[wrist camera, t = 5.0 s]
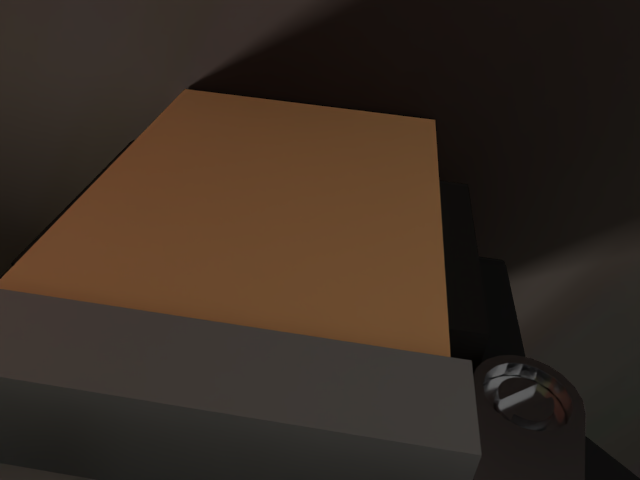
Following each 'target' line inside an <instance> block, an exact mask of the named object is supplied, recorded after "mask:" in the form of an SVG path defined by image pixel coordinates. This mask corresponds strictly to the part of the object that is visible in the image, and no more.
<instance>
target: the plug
mask: <svg viewBox="0 0 640 480" xmlns="http://www.w3.org/2000/svg"><path fill="white" fill-rule="evenodd" d="M481 456H482V454H481V444H480V435H479V425H478V416H477V406H476V397H475V387H474V378H473V369H472V360H465V359H459V358H452V357H451V356H450V340H449V325H448V309H447V294H446V278H445V263H444V248H443V232H442V217H441V201H440V186H439V171H438V155H437V140H436V124H435V120H432V119H424V118H416V117H408V116H400V115H392V114H384V113H375V112H367V111H359V110H351V109H343V108H335V107H327V106H319V105H311V104H303V103H294V102H286V101H278V100H270V99H262V98H254V97H246V96H238V95H230V94H222V93H213V92H205V91H197V90H189V89H185V90H184V91H183V92H182V93H181V94H180V95H179V96H178V97H177V98H176V99H175V100H174V101H173V102H172V103H171V104H170V105H169V106H168V107H167V108H166V109H165V110H164V111H163V112H162V113H161V114H160V115H159V116H158V117H157V118H156V119H155V120H154V121H153V122H152V124H151V125H150V126H149V127H148V128H147V129H146V130H145V131H144V132H143V133H142V134H141V135H140V136H139V137H138V138H137V139H136V140H135V141H134V142H133V143H132V144H131V145H130V146H129V147H128V148H127V149H126V150H125V151H124V152H123V153H122V154H121V155H120V156H119V157H118V159H117V160H116V161H115V162H114V163H113V164H112V165H111V166H110V167H109V168H108V169H107V170H106V171H105V172H104V173H103V174H102V175H101V176H100V177H99V178H98V179H97V180H96V181H95V182H94V183H93V184H92V185H91V186H90V187H89V188H88V189H87V190H86V191H85V192H84V194H83V195H82V196H81V197H80V198H79V199H78V200H77V201H76V202H75V203H74V204H73V205H72V206H71V207H70V208H69V209H68V210H67V211H66V212H65V213H64V214H63V215H62V216H61V217H60V218H59V219H58V220H57V221H56V222H55V223H54V224H53V225H52V226H51V227H50V229H49V230H48V231H47V232H46V233H45V234H44V235H43V236H42V237H41V238H40V239H39V240H38V241H37V242H36V243H35V244H34V245H33V246H32V247H31V248H30V249H29V250H28V251H27V252H26V253H25V254H24V255H23V256H22V257H21V258H20V259H19V260H18V261H17V262H16V264H15V265H14V266H13V267H12V268H11V269H10V270H9V271H8V272H7V273H6V274H5V275H4V276H3V277H2V278H1V279H0V463H2V464H8V465H14V466H20V467H25V468H31V469H37V470H43V471H48V472H54V473H60V474H66V475H71V476H77V477H83V478H89V479H94V480H473V478H474V475H475V472H476V470H477V467H478V464H479V461H480V459H481Z"/></svg>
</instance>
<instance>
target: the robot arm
mask: <svg viewBox="0 0 640 480" xmlns="http://www.w3.org/2000/svg"><path fill="white" fill-rule="evenodd" d="M134 141H135V140H133V141H131V142H130V143H129V144H128V145H127V146H126V147H125V148H124V149H123V150H122V151H121V152H120V153H119V154H118V155H117V156H116V157H115V158H114V159H113V160H112V161H111V162H110V163H109V164H108V165H107V166H106V168H105V169H104V170H103V171H102V172H101V173H100V174H99V175H98V176H97V177H96V178H95V179H94V180H93V181H92V182H91V183H90V184H89V185H88V186H87V187H86V188H85V189H84V190H83V191H82V192H81V193H80V194H79V195H78V196H77V197H76V198H75V199H74V200H73V201H72V202H71V203H70V204H69V205H68V206H67V207H66V208H65V209H64V210H63V211H62V212H61V213H60V214H59V215H58V216H57V217H56V218H55V219H54V220H53V221H52V222H51V223H50V224H49V225H48V226H47V227H46V228H45V229H44V230H43V231H42V232H41V233H40V235H39V236H38V237H37V238H36V239H35V240H34V241H33V242H32V243H31V244H30V245H29V246H28V247H27V248H26V249H25V250H24V251H23V252H22V253H21V254H20V255H19V256H18V257H17V258H16V259H15V260H14V261H13V262H12V266H11V267H10V268H9V269H8V270H7V271H6V272H5V273H4V274H3V275H2V276H1V277H0V279H1V278H2V277H3V276H4V275H5V274H6V273H7V272H8V271H9V270H10V269H11V268H12V267H13V266H14V265H15V264H16V262H17V261H18V260H19V259H20V258H21V257H22V256H23V255H24V254H25V253H26V252H27V251H28V250H29V249H30V248H31V247H32V246H33V245H34V244H35V243H36V242H37V241H38V240H39V239H40V238H41V237H42V236H43V235H44V234H45V233H46V232H47V231H48V230H49V229H50V227H51V226H52V225H53V224H54V223H55V222H56V221H57V220H58V219H59V218H60V217H61V216H62V215H63V214H64V213H65V212H66V211H67V210H68V209H69V208H70V207H71V206H72V205H73V204H74V203H75V202H76V201H77V200H78V199H79V198H80V197H81V196H82V195H83V194H84V192H85V191H86V190H87V189H88V188H89V187H90V186H91V185H92V184H93V183H94V182H95V181H96V180H97V179H98V178H99V177H100V176H101V175H102V174H103V173H104V172H105V171H106V170H107V169H108V168H109V167H110V166H111V165H112V164H113V163H114V162H115V161H116V160H117V159H118V157H119V156H120V155H121V154H122V153H123V152H124V151H125V150H126V149H127V148H128V147H129V146H130V145H131V144H132V143H133V142H134ZM439 186H440V201H441V217H442V232H443V248H444V263H445V278H446V294H447V309H448V325H449V340H450V356H451V357H452V358H459V359H465V360H472V369H473V378H474V387H475V397H476V406H477V416H478V425H479V435H480V444H481V454H482V456H481V459H480V461H479V464H478V467H477V470H476V472H475V475H474V478H473V480H640V478H638V477H637V476H636V475H635V474H633V473H632V472H631V471H629V470H628V469H627V468H626V467H624V466H623V465H622V464H621V463H619V462H618V461H617V460H615V459H614V458H613V457H612V456H610V455H609V454H608V453H606V452H605V451H604V450H603V449H601V448H600V447H599V446H598V445H596V444H595V443H594V442H592V441H591V440H590V439H589V438H587V437H586V436H585V418H586V414H585V409H584V404H583V400H582V398H581V396H580V395H579V393H578V391H577V390H576V388H575V387H574V386H573V385H572V384H571V383H570V382H569V381H568V380H567V379H566V378H565V377H564V376H563V375H562V374H561V373H559V372H558V371H556V370H555V369H553V368H552V367H550V366H548V365H546V364H544V363H541V362H539V361H537V360H534V359H532V358H527V357H525V353H524V348H523V344H522V339H521V334H520V330H519V325H518V320H517V315H516V311H515V306H514V301H513V297H512V292H511V287H510V282H509V278H508V273H507V268H506V265H505V262H504V261H502V260H498V259H491V258H483V257H478V250H477V243H476V237H475V230H474V223H473V216H472V210H471V203H470V196H469V190H468V185H467V184H462V183H454V182H446V181H439ZM0 480H94V479H89V478H83V477H77V476H71V475H66V474H60V473H54V472H48V471H43V470H37V469H31V468H25V467H20V466H14V465H8V464H2V463H0Z"/></svg>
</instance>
